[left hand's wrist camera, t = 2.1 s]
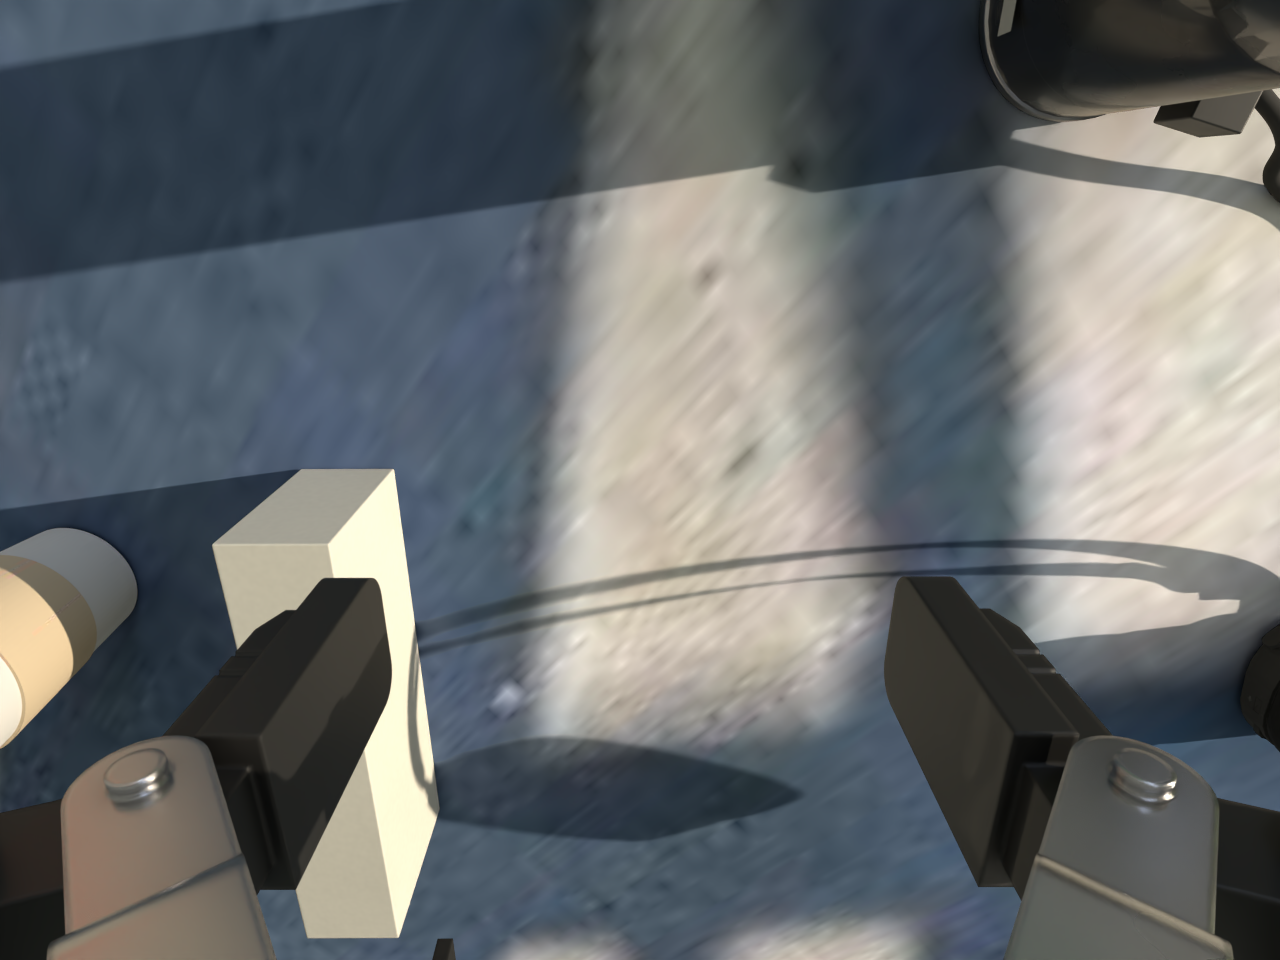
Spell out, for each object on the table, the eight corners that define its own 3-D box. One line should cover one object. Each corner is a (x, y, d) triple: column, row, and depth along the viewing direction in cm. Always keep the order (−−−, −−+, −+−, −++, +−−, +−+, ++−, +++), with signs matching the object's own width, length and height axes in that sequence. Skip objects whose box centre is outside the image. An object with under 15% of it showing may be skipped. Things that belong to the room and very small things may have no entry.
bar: (300, 468, 42) (210, 544, 33) (394, 468, 42) (329, 544, 33) (363, 809, 51) (306, 938, 42) (440, 809, 51) (398, 938, 42)
